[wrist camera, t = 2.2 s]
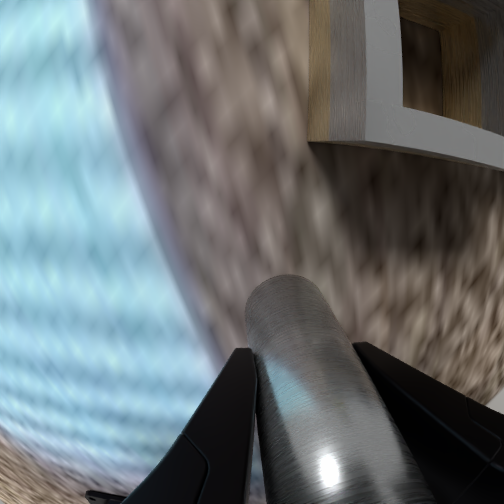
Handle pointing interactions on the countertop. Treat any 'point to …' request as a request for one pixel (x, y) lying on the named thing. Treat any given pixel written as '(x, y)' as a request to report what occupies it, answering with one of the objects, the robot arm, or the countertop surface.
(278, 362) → the hinge pin
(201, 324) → the countertop surface
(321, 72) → the hinge
